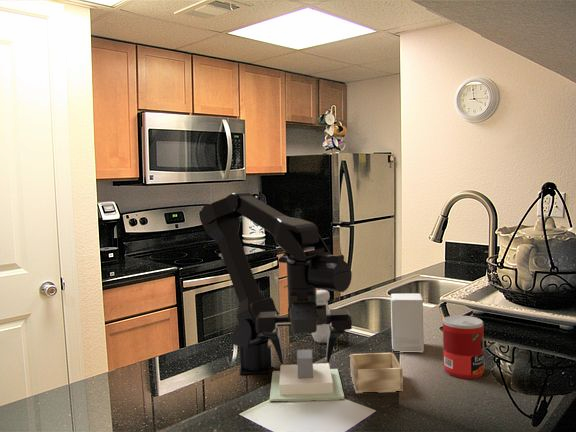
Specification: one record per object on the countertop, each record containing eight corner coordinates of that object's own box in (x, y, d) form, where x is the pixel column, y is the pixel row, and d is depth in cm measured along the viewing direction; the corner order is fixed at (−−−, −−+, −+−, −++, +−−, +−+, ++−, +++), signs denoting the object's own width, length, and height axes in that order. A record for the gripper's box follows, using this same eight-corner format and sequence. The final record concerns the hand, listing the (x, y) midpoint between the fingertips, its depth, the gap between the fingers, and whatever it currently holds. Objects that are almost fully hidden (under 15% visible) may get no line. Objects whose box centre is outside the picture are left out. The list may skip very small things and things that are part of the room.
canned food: (480, 382, 97) (479, 327, 96) (439, 375, 101) (438, 322, 100) (487, 368, 103) (486, 317, 103) (448, 362, 108) (447, 313, 107)
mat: (269, 402, 92) (269, 399, 92) (272, 373, 106) (272, 371, 106) (344, 399, 92) (344, 396, 92) (337, 371, 106) (337, 368, 106)
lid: (279, 394, 94) (278, 364, 93) (281, 374, 104) (279, 346, 104) (333, 392, 94) (331, 362, 93) (329, 372, 104) (328, 344, 103)
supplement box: (424, 353, 114) (423, 300, 113) (392, 352, 116) (390, 299, 115) (422, 343, 121) (421, 292, 120) (391, 342, 123) (390, 292, 122)
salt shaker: (308, 342, 125) (306, 292, 124) (315, 336, 130) (313, 287, 130) (330, 344, 123) (328, 293, 122) (336, 337, 128) (335, 288, 127)
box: (356, 393, 94) (355, 370, 94) (350, 375, 103) (349, 354, 103) (403, 391, 94) (402, 368, 94) (393, 373, 103) (392, 352, 103)
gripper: (251, 297, 90) (255, 380, 91) (353, 293, 89) (356, 376, 90) (256, 284, 101) (259, 358, 102) (347, 281, 100) (349, 355, 101)
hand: (305, 362), depth 99 cm, fingers open, 9 cm apart
